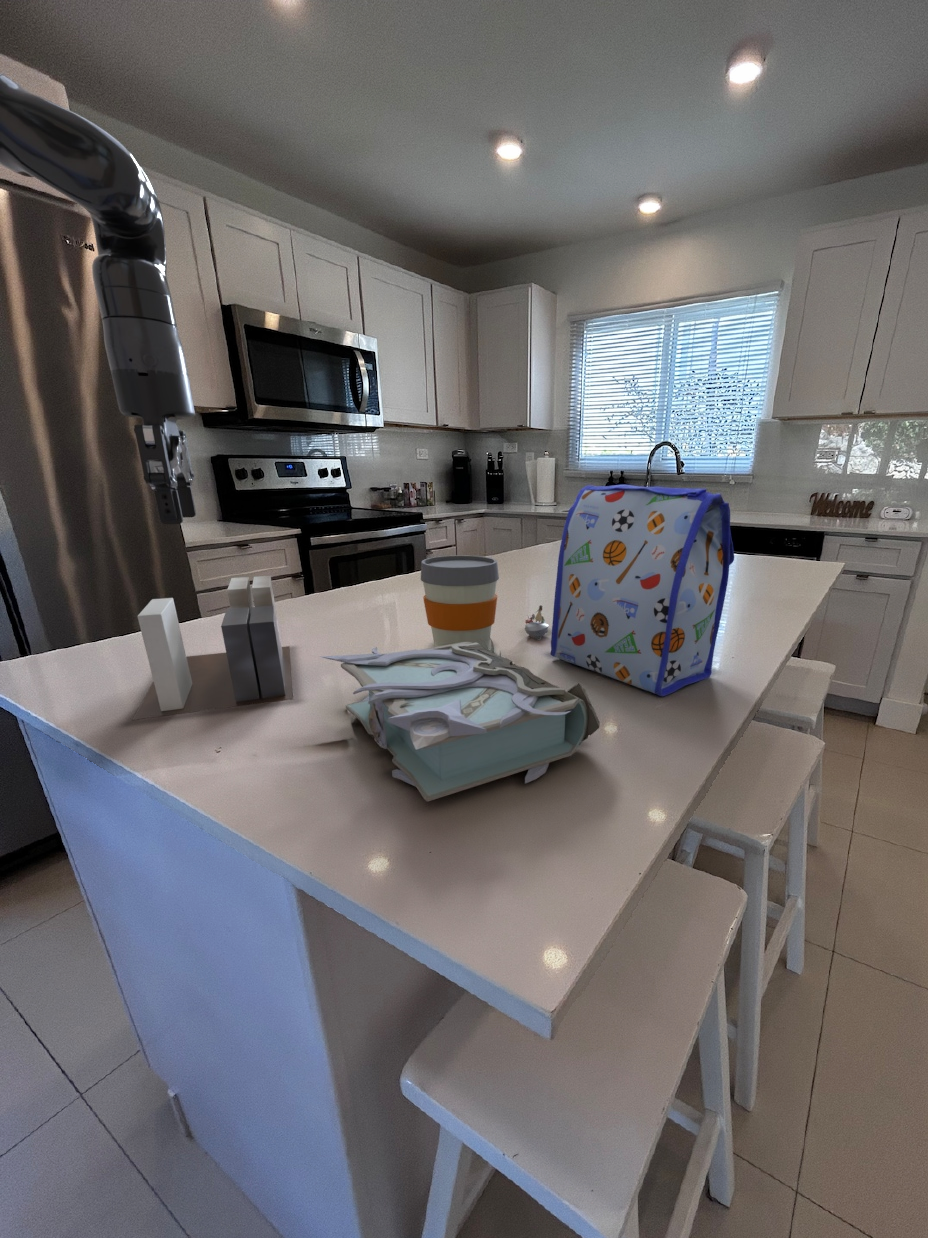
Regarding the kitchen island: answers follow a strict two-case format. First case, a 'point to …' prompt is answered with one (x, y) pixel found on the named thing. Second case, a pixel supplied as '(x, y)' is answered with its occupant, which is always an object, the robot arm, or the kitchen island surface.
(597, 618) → the lunch bag
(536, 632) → the figurine
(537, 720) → the ornate book
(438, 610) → the reusable coffee cup
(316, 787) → the kitchen island surface
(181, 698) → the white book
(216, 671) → the shelf board
